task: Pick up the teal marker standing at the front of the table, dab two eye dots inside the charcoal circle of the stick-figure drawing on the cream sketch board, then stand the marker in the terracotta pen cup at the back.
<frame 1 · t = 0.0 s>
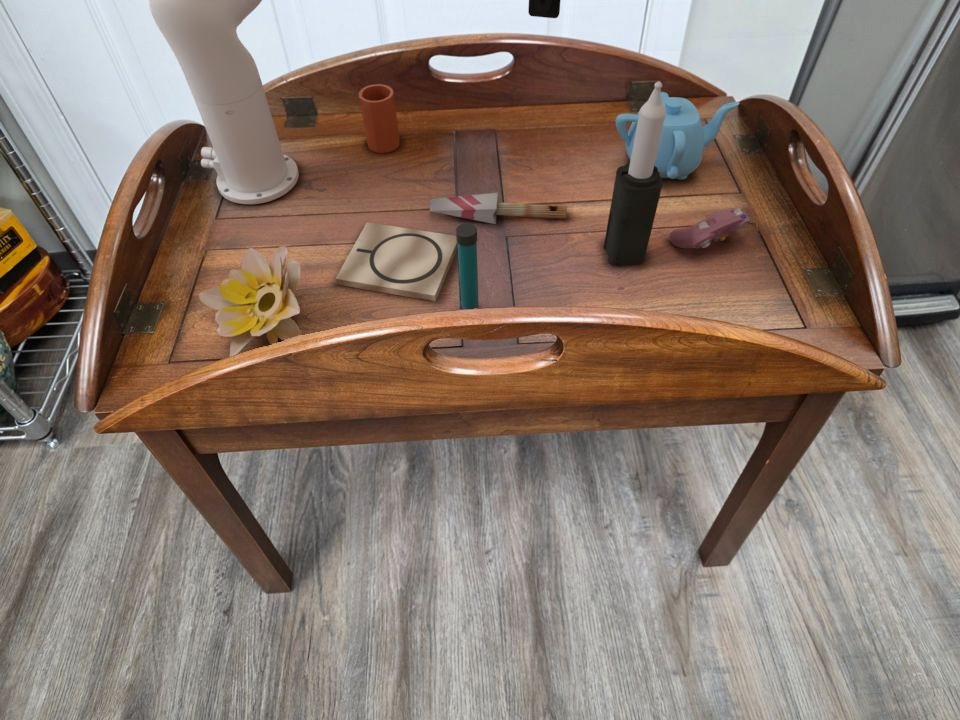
teapot: (664, 166, 103), on the table
sketch board: (400, 263, 90), on the table
marker: (470, 313, 84), on the table
pen cup: (383, 143, 108), on the table
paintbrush: (498, 216, 96), on the table
candle: (623, 254, 91), on the table
purple toy car: (705, 242, 92), on the table
decorative flower: (264, 319, 84), on the table
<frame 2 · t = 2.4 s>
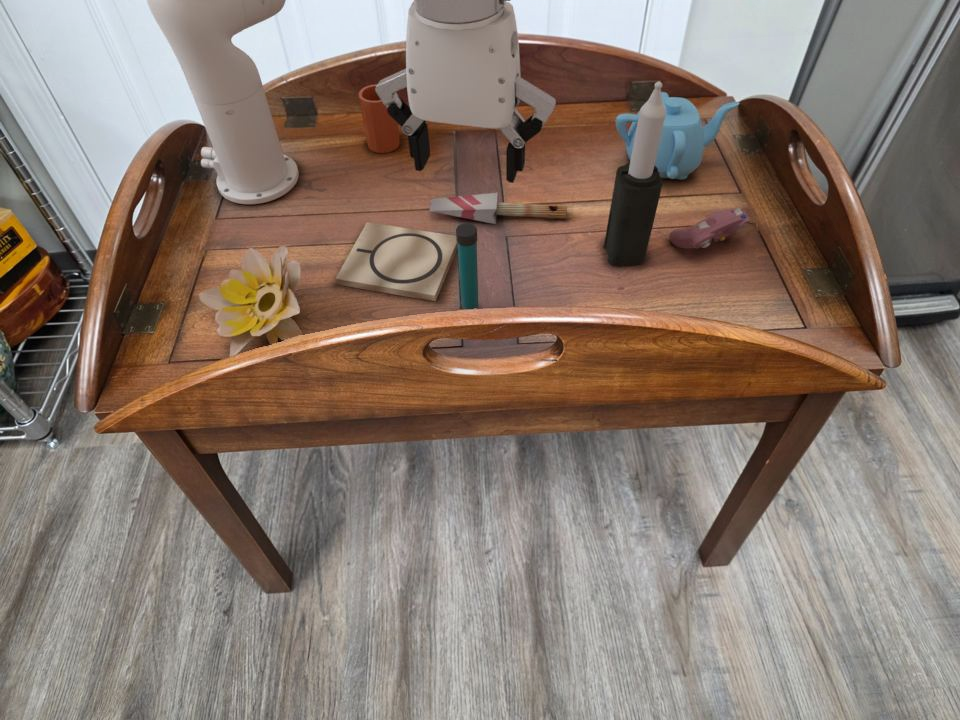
hand: (467, 168, 67), 22 cm above the table, tool pointing down, fingers open, 9 cm apart
nothing on the table moved.
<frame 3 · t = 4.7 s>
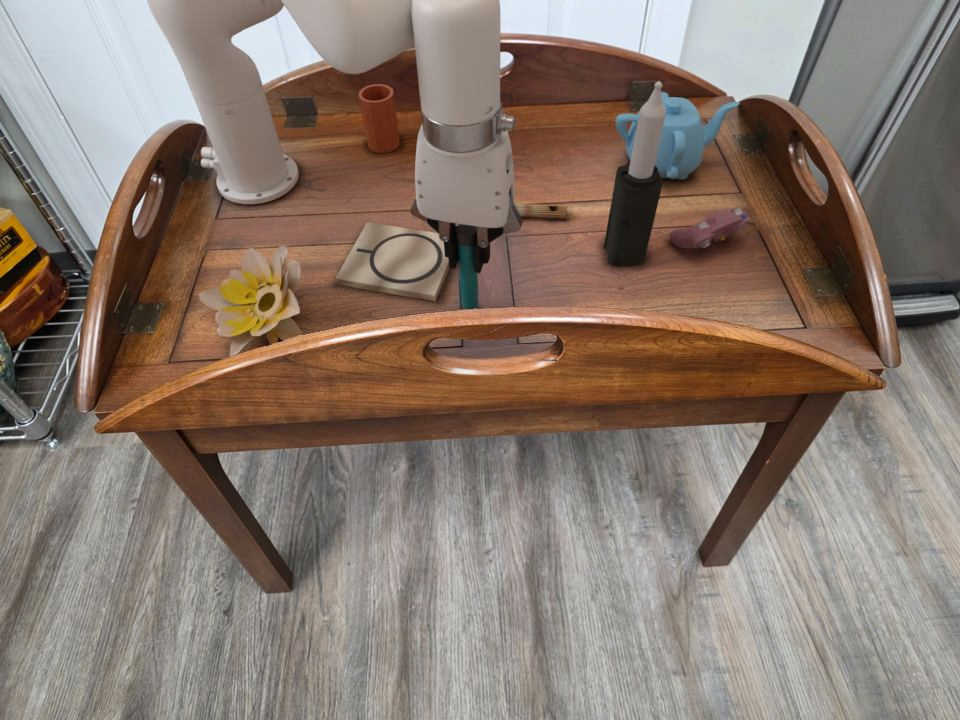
hand: (467, 261, 77), 9 cm above the table, tool pointing down, fingers closed on marker, 2 cm apart
marker: (470, 313, 84), on the table, touching gripper
everything else where it was.
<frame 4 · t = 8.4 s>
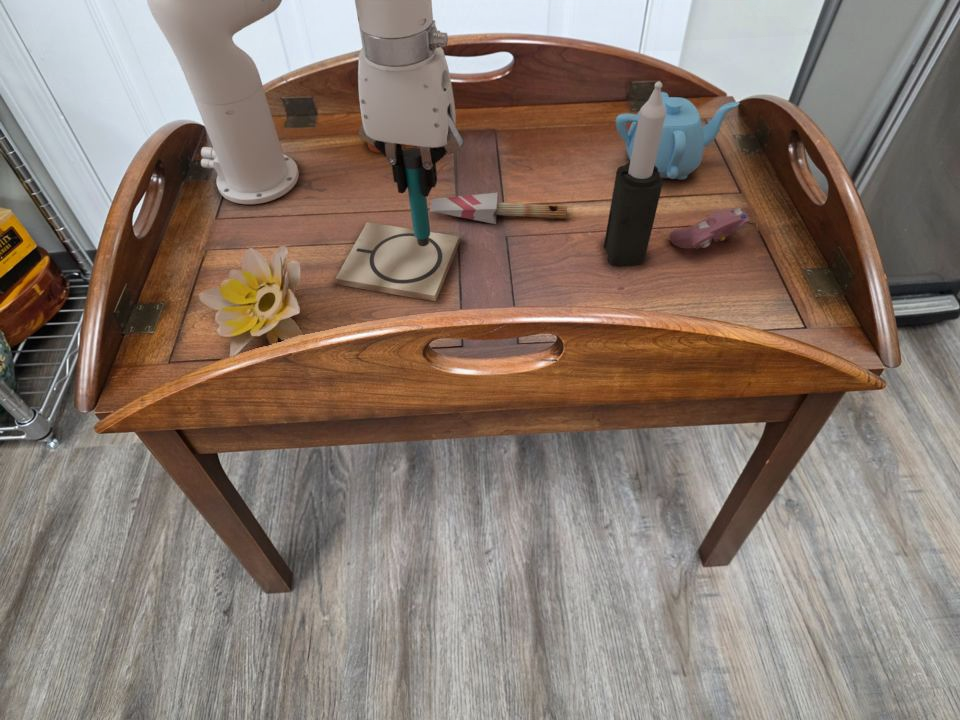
hand: (416, 187, 81), 12 cm above the table, tool pointing down, fingers closed on marker, 2 cm apart
marker: (423, 242, 88), point 3 cm above the table, touching gripper
everything else where it was.
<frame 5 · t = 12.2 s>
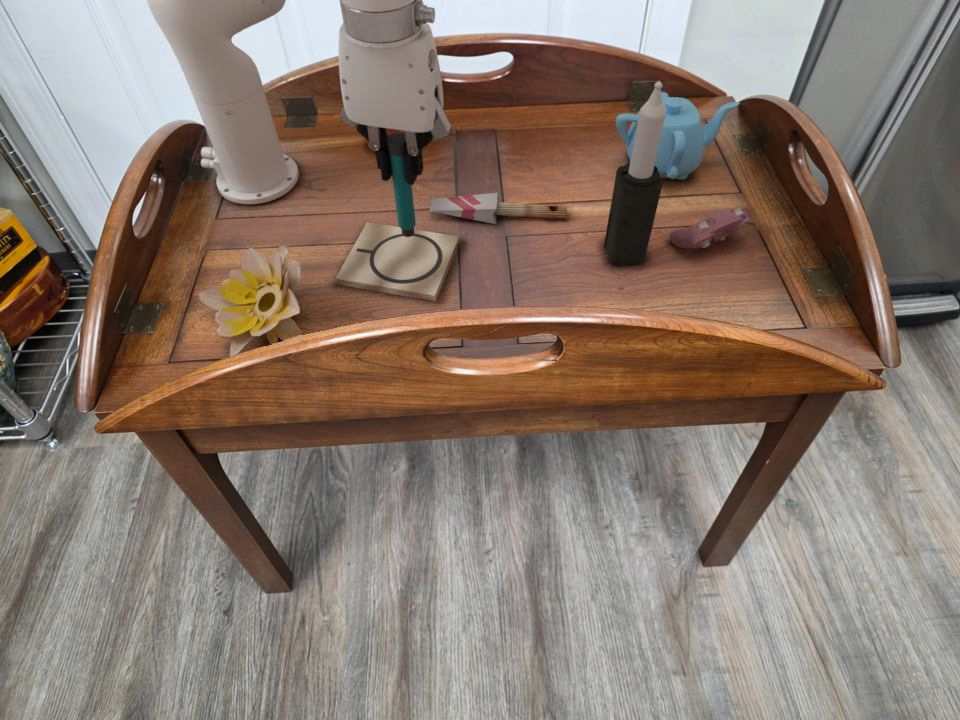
hand: (401, 174, 76), 16 cm above the table, tool pointing down, fingers closed on marker, 2 cm apart
marker: (408, 233, 84), point 7 cm above the table, touching gripper
everything else where it was.
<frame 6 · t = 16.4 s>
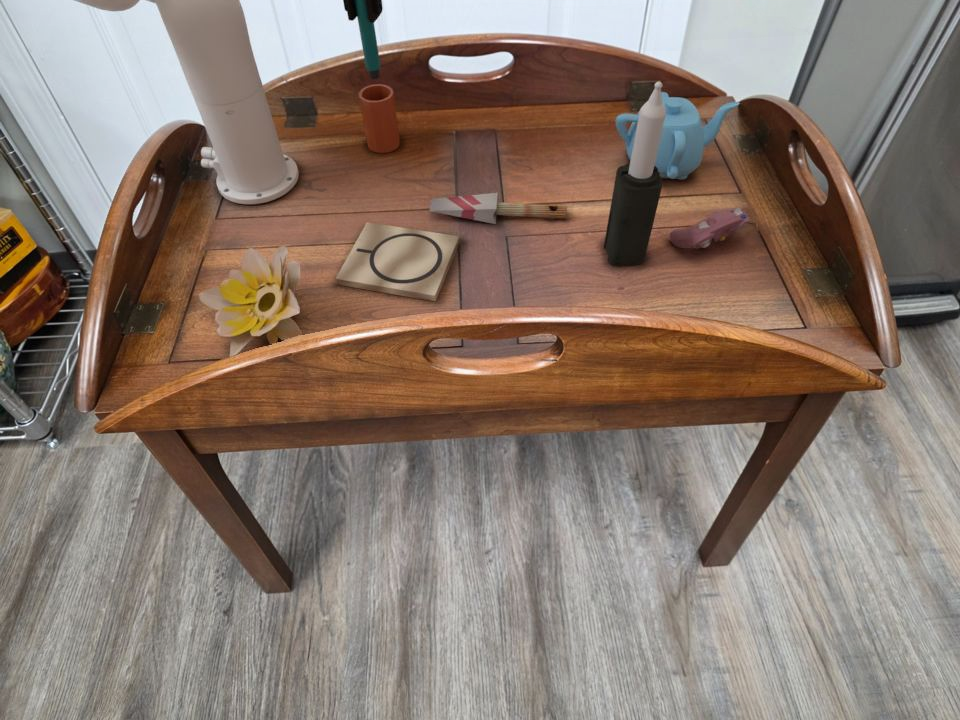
hand: (364, 16, 92), 21 cm above the table, tool pointing down, fingers closed on marker, 2 cm apart
marker: (374, 76, 99), point 12 cm above the table, touching gripper
everything else where it was.
when the fingers open (10 cm above the table, at t = 19.6 s): marker stays where it is, resting on pen cup.
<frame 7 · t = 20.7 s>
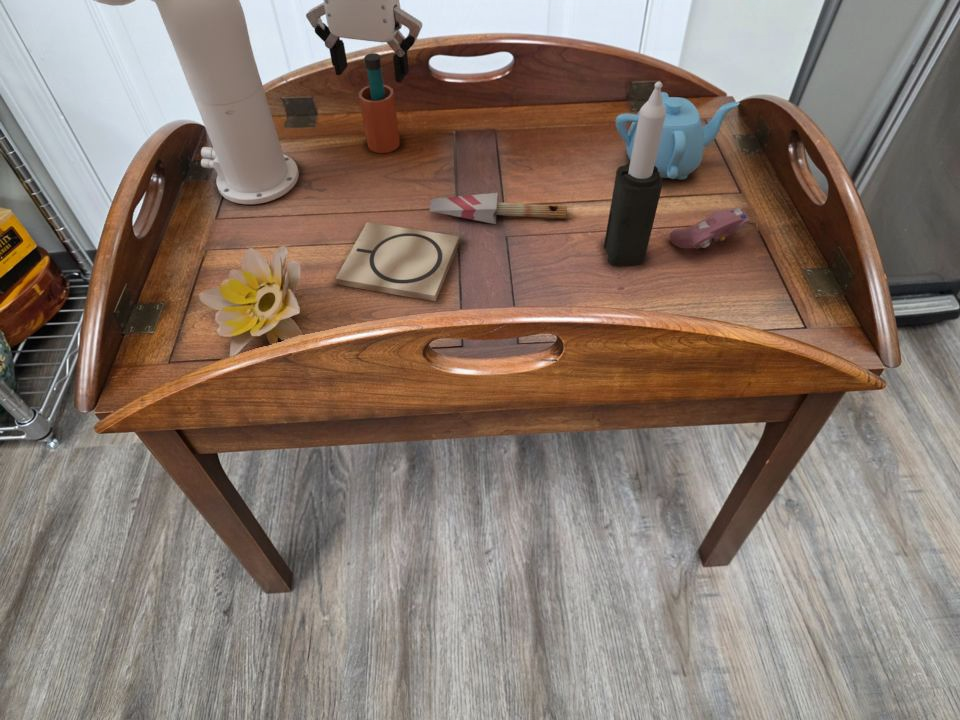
hand: (371, 74, 99), 12 cm above the table, tool pointing down, fingers open, 9 cm apart
marker: (384, 139, 108), point 1 cm above the table, touching pen cup
everything else where it was.
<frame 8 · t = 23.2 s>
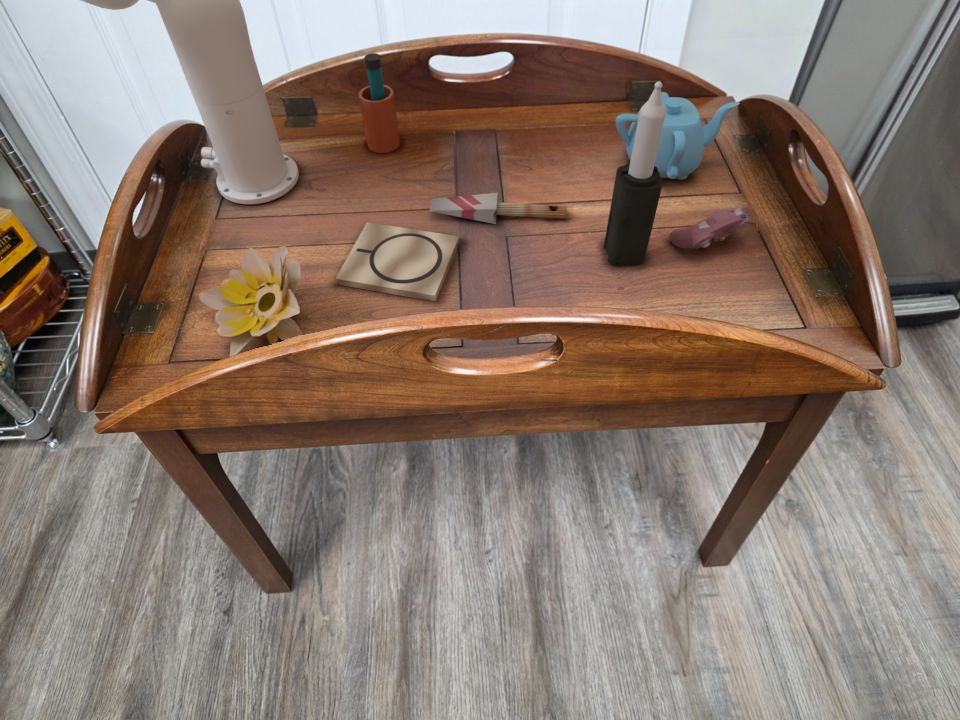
nothing on the table moved.
at the end: marker 0.4 cm off-centre in the pen cup, point 0.6 cm above the pen cup's base; marker tilted 0°; the gripper is holding nothing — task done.
